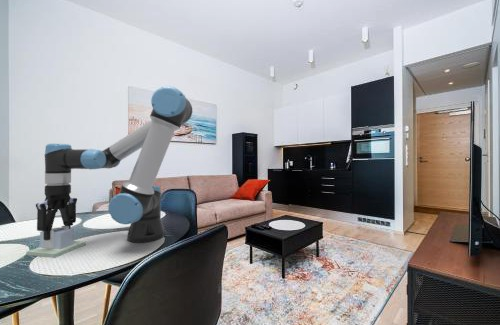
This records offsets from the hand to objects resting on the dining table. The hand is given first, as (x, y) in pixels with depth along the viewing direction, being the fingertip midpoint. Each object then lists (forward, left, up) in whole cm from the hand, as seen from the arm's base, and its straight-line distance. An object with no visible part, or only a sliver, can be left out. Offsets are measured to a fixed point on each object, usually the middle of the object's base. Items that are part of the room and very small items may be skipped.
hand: (57, 245), depth 83 cm
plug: (0, 0, 0) cm, 0 cm away
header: (0, 0, -2) cm, 2 cm away
